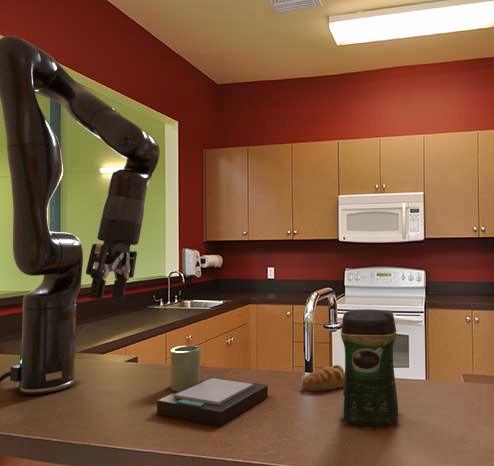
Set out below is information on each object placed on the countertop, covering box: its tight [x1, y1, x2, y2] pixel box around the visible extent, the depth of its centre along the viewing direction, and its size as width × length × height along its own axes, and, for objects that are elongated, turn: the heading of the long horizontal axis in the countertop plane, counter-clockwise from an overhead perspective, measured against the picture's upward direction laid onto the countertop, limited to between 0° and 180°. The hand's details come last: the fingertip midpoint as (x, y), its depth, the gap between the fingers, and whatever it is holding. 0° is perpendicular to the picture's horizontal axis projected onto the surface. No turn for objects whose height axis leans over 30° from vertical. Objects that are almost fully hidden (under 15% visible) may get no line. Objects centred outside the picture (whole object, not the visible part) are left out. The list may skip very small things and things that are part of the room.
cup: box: [170, 345, 201, 392], centre depth 86 cm, size 6×6×8 cm
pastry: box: [301, 364, 345, 392], centre depth 85 cm, size 9×7×4 cm
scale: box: [156, 376, 269, 427], centre depth 75 cm, size 14×14×3 cm
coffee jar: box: [340, 308, 399, 426], centre depth 70 cm, size 10×8×19 cm
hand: (107, 298), depth 81 cm, fingers open, 8 cm apart
